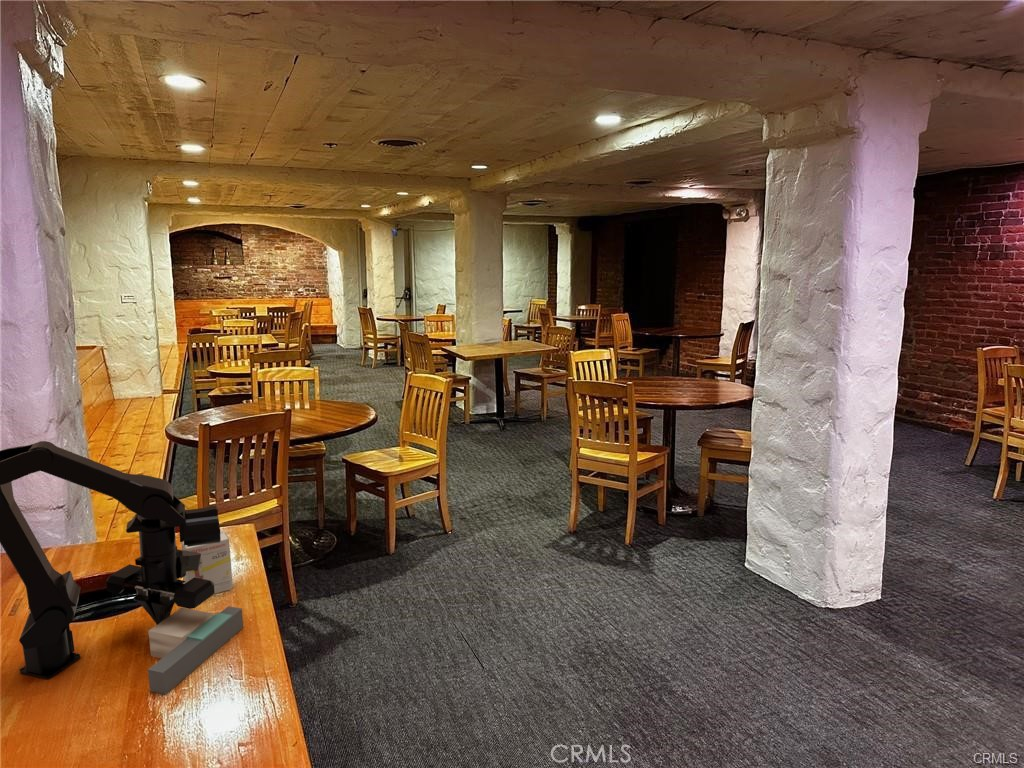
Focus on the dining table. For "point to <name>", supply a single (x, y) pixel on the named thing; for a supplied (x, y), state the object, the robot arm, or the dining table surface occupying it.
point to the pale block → (175, 630)
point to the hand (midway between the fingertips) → (163, 627)
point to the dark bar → (194, 650)
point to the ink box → (213, 563)
